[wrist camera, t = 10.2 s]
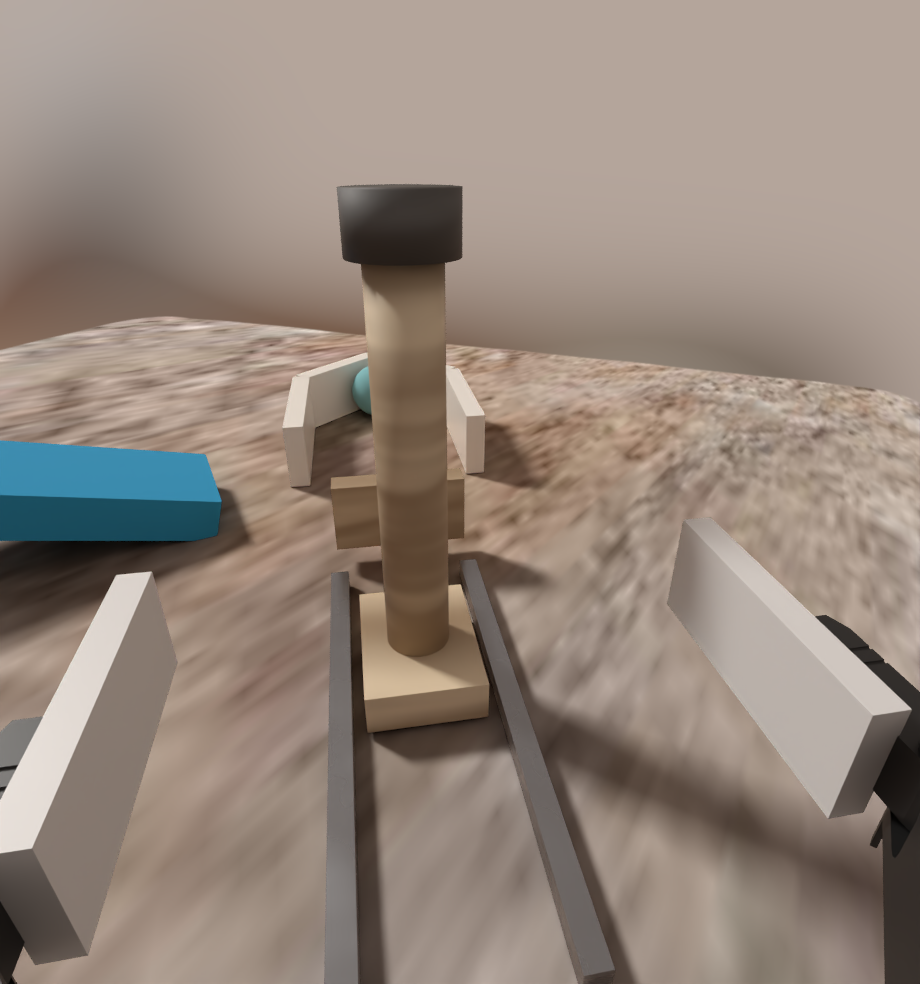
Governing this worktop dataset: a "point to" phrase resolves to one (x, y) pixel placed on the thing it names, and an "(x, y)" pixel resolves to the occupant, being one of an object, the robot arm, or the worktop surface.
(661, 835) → the worktop surface
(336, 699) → the track
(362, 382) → the ball
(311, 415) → the pocket
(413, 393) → the plunger
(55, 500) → the blue long block
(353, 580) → the worktop surface
